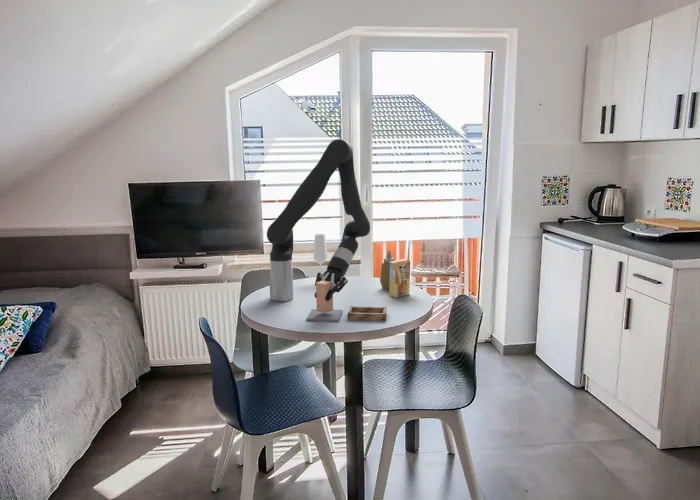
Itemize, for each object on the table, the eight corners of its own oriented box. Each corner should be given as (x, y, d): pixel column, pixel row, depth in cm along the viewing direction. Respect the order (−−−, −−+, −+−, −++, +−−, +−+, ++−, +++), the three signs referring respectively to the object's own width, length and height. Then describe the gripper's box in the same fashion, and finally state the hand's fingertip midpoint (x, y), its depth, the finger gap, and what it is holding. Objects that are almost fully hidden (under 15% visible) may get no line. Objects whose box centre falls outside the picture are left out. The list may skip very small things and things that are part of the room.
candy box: (403, 292, 210) (403, 258, 208) (410, 294, 207) (410, 260, 204) (388, 295, 205) (389, 261, 202) (395, 297, 202) (396, 262, 199)
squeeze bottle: (392, 292, 211) (392, 252, 208) (376, 289, 215) (376, 251, 212) (400, 288, 217) (400, 249, 214) (385, 285, 222) (385, 248, 219)
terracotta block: (316, 311, 177) (316, 282, 175) (324, 308, 180) (323, 280, 178) (325, 313, 174) (325, 284, 172) (333, 310, 178) (332, 281, 176)
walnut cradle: (347, 319, 173) (347, 313, 173) (350, 312, 182) (350, 306, 181) (385, 320, 172) (385, 314, 171) (386, 313, 180) (386, 307, 180)
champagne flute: (330, 283, 228) (329, 234, 223) (320, 285, 223) (319, 235, 219) (321, 280, 232) (320, 232, 228) (311, 283, 227) (309, 234, 223)
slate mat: (306, 320, 172) (306, 318, 172) (312, 311, 184) (312, 309, 184) (338, 321, 171) (338, 319, 171) (342, 311, 183) (342, 309, 183)
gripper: (321, 254, 184) (302, 290, 176) (351, 258, 175) (331, 296, 168) (330, 264, 189) (311, 301, 181) (359, 269, 181) (341, 307, 173)
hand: (321, 298), depth 175 cm, fingers closed on terracotta block, 4 cm apart
